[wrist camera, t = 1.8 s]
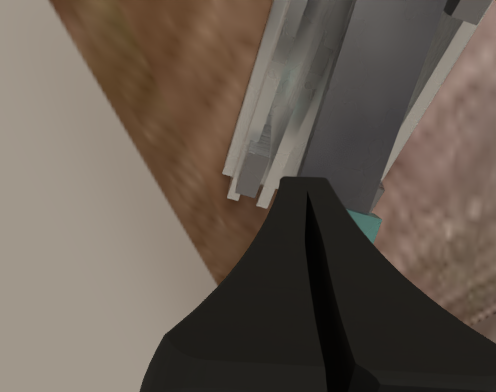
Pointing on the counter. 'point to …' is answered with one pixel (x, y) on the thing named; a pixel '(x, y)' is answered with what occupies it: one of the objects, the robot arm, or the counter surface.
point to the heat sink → (319, 88)
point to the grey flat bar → (368, 99)
